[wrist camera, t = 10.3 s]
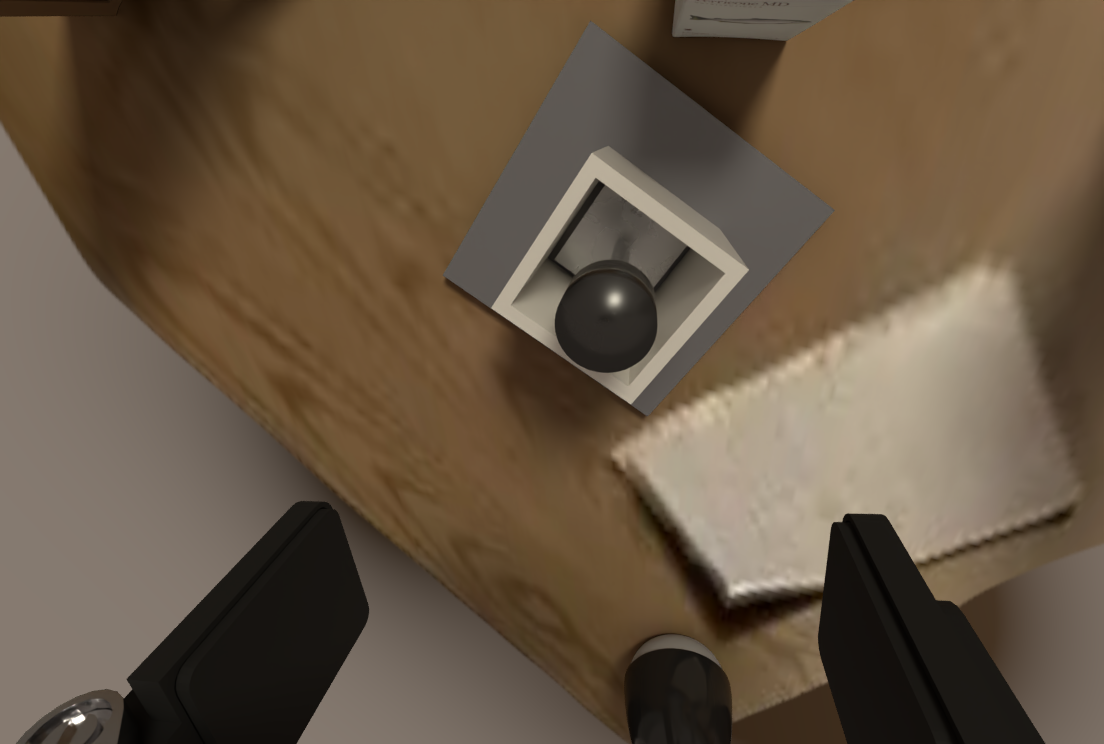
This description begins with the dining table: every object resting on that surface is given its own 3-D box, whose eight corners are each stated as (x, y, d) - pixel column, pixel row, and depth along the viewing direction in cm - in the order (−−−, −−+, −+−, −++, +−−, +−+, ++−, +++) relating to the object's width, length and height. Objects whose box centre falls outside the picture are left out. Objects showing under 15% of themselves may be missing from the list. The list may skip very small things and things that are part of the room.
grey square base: (829, 207, 37) (914, 245, 25) (647, 409, 45) (647, 509, 34) (592, 23, 35) (563, -30, 23) (447, 271, 43) (372, 325, 31)
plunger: (693, 234, 38) (725, 309, 22) (632, 311, 41) (622, 426, 25) (612, 174, 37) (585, 208, 21) (555, 257, 40) (496, 340, 24)
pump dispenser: (678, 700, 59) (688, 872, 46) (606, 649, 58) (593, 811, 44) (748, 658, 55) (782, 832, 41) (672, 601, 54) (680, 763, 40)
